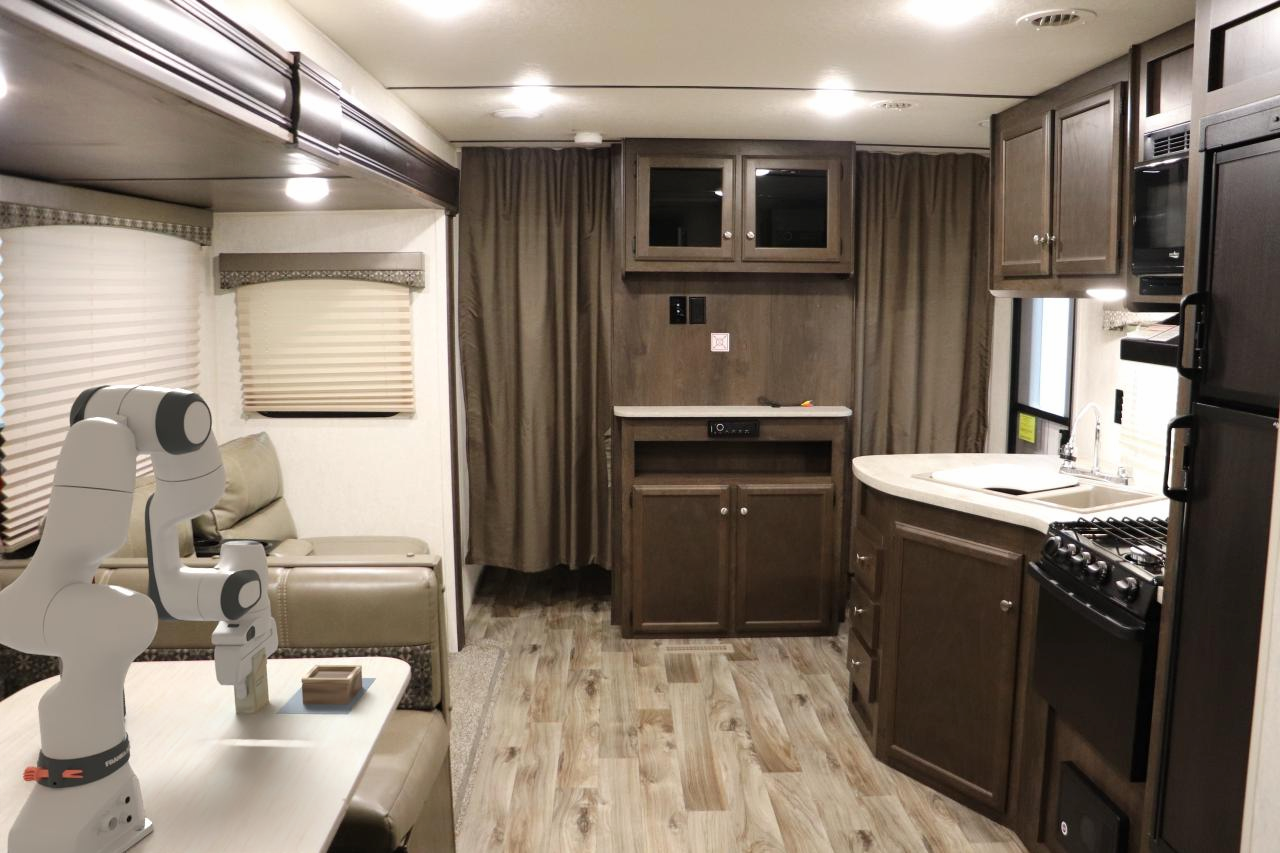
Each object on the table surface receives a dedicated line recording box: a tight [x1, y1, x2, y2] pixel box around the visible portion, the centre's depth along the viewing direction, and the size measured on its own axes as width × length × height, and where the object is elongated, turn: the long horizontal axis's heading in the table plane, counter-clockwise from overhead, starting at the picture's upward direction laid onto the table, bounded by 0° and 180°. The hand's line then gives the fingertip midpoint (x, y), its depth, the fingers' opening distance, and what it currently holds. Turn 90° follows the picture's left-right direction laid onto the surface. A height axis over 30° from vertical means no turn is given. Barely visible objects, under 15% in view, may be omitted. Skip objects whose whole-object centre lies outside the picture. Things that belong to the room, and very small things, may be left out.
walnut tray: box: [301, 664, 363, 704], centre depth 201 cm, size 9×10×5 cm
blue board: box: [276, 677, 377, 715], centre depth 202 cm, size 18×14×1 cm
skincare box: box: [233, 647, 270, 714], centre depth 196 cm, size 6×4×12 cm
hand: (251, 689), depth 196 cm, fingers closed on skincare box, 6 cm apart
